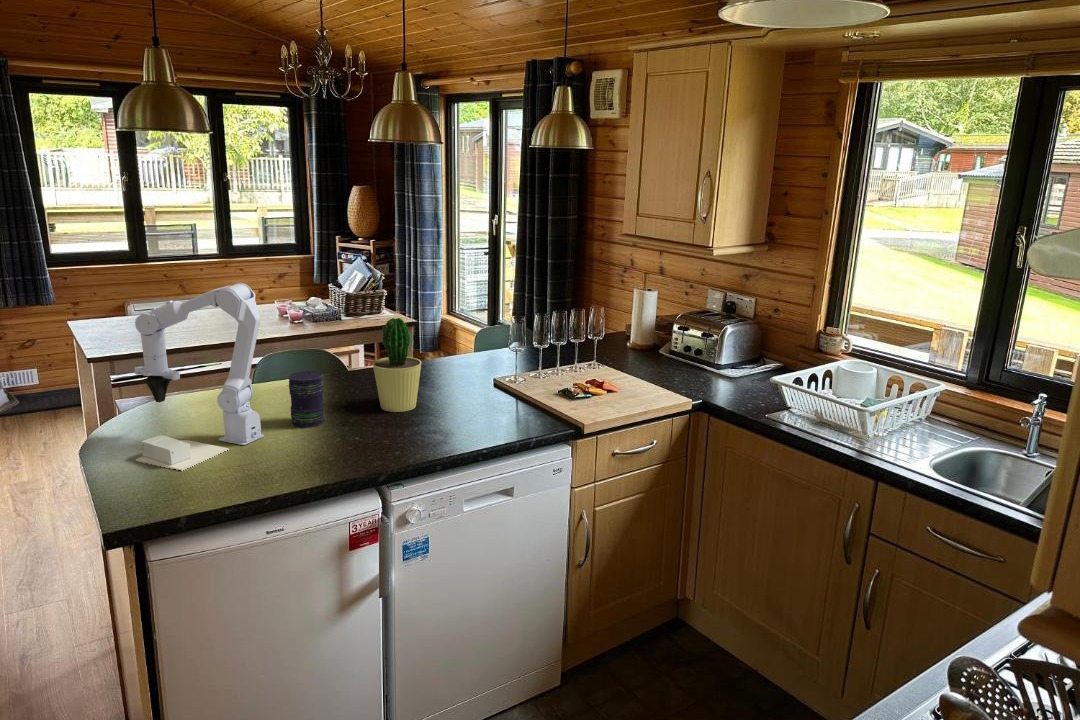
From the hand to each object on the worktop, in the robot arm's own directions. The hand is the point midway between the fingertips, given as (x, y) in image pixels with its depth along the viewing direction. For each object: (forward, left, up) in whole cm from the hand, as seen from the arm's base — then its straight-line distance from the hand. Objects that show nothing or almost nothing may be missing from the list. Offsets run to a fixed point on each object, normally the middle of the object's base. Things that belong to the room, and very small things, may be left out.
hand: (160, 401), depth 211 cm
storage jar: (-29, -26, -11) cm, 41 cm away
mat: (-16, +9, -10) cm, 21 cm away
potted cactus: (-45, -51, -11) cm, 69 cm away
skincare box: (-8, +11, -8) cm, 16 cm away
